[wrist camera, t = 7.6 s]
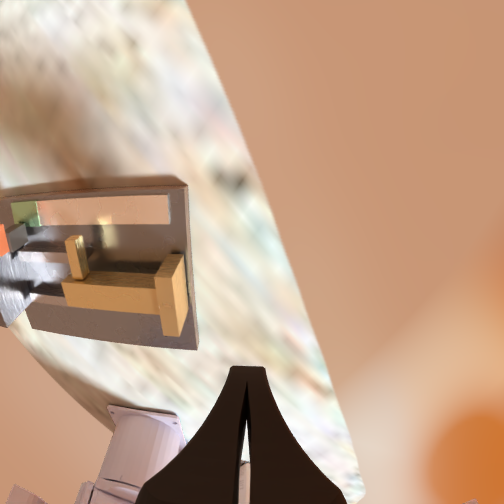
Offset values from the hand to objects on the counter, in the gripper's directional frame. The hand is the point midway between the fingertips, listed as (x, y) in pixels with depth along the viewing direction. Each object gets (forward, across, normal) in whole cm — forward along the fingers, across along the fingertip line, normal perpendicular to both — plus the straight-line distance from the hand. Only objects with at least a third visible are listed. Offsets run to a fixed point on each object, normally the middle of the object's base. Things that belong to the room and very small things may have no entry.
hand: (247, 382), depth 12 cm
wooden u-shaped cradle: (+8, +8, -1) cm, 12 cm away
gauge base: (+10, +12, 0) cm, 15 cm away
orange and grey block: (+8, +17, -4) cm, 19 cm away
